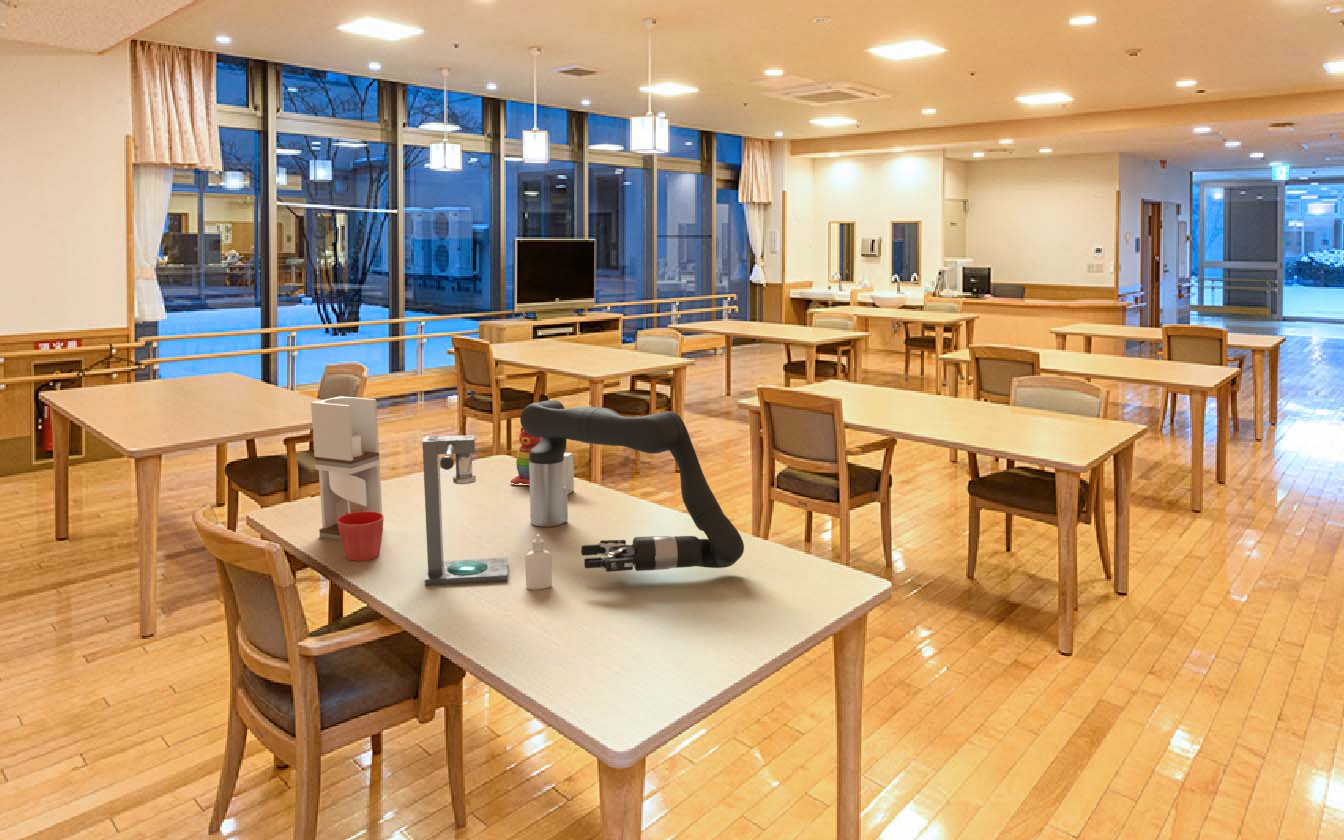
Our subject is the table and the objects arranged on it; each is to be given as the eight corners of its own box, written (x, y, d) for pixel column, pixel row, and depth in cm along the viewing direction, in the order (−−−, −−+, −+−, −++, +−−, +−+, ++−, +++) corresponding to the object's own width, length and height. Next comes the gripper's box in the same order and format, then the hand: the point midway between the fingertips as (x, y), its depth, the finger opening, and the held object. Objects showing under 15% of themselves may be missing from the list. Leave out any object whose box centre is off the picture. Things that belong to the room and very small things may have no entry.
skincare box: (574, 491, 287) (574, 453, 285) (568, 494, 283) (567, 456, 281) (556, 489, 289) (555, 451, 287) (550, 493, 285) (549, 454, 283)
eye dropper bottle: (529, 582, 211) (528, 531, 209) (553, 584, 210) (553, 532, 208) (523, 589, 207) (522, 537, 205) (548, 591, 206) (547, 538, 204)
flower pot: (343, 566, 221) (340, 526, 219) (336, 552, 230) (333, 514, 228) (389, 559, 225) (387, 520, 224) (380, 546, 235) (378, 508, 233)
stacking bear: (507, 485, 294) (506, 429, 290) (523, 477, 303) (522, 423, 300) (538, 488, 290) (537, 432, 287) (553, 480, 299) (553, 426, 296)
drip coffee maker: (319, 536, 242) (310, 402, 235) (348, 525, 252) (340, 396, 245) (355, 542, 238) (347, 405, 231) (383, 530, 247) (376, 399, 241)
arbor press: (507, 563, 223) (504, 431, 217) (507, 603, 199) (503, 455, 193) (429, 567, 220) (423, 433, 214) (420, 608, 196) (413, 458, 190)
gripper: (650, 527, 218) (580, 530, 215) (660, 547, 204) (585, 550, 201) (650, 558, 219) (580, 562, 217) (659, 580, 206) (585, 584, 203)
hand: (582, 556), depth 209 cm, fingers open, 8 cm apart
